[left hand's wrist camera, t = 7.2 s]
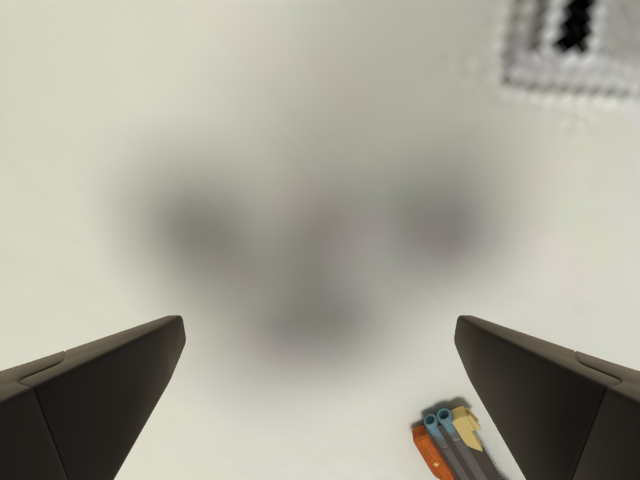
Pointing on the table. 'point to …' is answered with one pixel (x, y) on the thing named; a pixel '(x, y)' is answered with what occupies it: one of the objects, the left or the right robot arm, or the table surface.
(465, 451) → the toy gun
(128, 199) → the table surface
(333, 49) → the table surface
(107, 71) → the table surface
